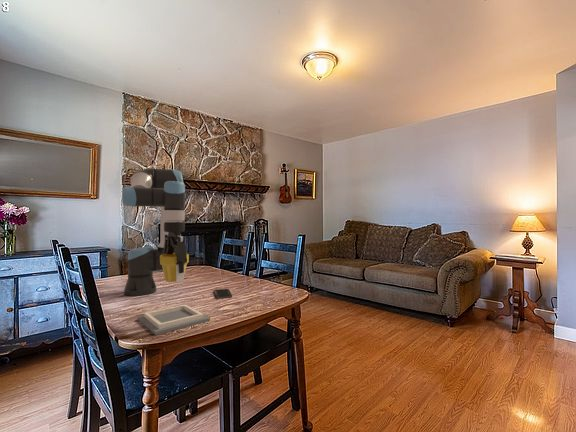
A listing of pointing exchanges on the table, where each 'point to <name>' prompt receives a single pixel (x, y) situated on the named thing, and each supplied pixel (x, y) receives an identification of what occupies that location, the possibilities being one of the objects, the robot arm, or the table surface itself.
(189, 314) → the board
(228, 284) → the table surface
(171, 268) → the plant pot
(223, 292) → the phone
